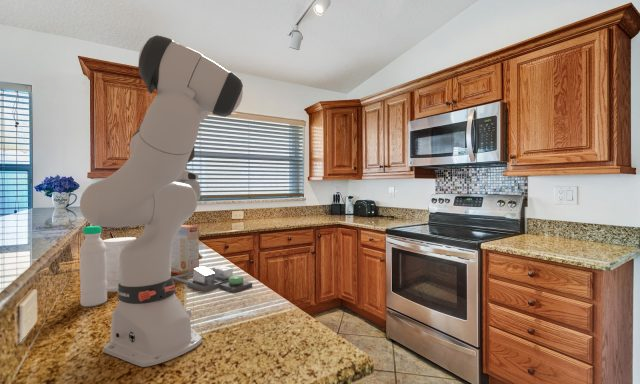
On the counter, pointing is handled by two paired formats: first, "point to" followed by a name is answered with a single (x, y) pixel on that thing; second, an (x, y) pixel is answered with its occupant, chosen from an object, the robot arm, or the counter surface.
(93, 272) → the water bottle
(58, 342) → the counter surface
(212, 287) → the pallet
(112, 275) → the decorative container
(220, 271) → the block
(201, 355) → the counter surface
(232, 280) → the button
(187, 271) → the cracker box
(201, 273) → the billet
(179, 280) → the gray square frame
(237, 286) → the console
